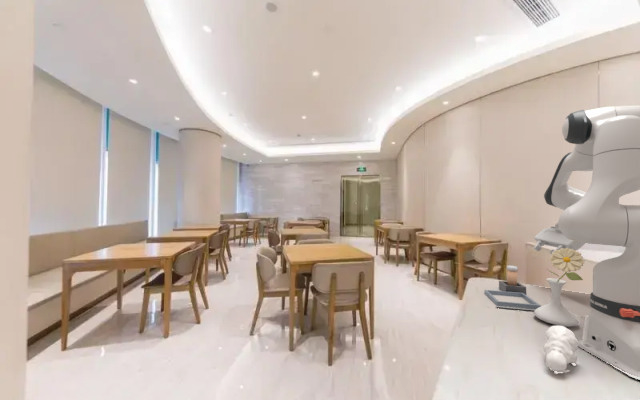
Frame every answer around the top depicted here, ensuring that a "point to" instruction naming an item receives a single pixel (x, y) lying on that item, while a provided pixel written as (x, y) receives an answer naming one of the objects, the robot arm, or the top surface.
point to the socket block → (512, 287)
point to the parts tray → (511, 304)
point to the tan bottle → (512, 275)
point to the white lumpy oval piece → (560, 348)
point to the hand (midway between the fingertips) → (543, 252)
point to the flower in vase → (554, 309)
